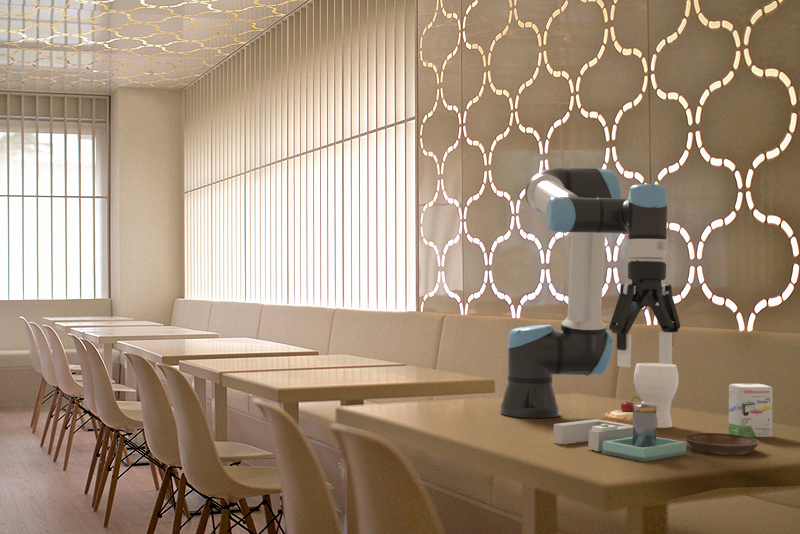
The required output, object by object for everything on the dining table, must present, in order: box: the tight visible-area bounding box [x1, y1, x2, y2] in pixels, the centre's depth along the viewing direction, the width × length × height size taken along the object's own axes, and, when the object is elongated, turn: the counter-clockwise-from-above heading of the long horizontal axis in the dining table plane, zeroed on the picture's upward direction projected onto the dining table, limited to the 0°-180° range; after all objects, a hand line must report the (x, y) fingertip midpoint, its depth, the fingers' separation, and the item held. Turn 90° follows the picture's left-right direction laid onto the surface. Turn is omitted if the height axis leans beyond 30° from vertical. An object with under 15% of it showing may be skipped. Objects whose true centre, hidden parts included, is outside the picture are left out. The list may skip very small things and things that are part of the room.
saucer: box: [684, 432, 760, 456], centre depth 188 cm, size 15×15×3 cm
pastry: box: [603, 396, 658, 429], centre depth 205 cm, size 12×12×9 cm
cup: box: [633, 362, 680, 429], centre depth 220 cm, size 11×11×15 cm
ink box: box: [728, 383, 774, 438], centre depth 207 cm, size 8×5×12 cm, turn 101°
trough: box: [601, 436, 687, 463], centre depth 181 cm, size 10×14×2 cm
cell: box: [632, 401, 657, 448], centre depth 181 cm, size 5×5×10 cm
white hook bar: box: [552, 418, 633, 452], centre depth 192 cm, size 12×14×5 cm
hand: (645, 365), depth 182 cm, fingers open, 13 cm apart
